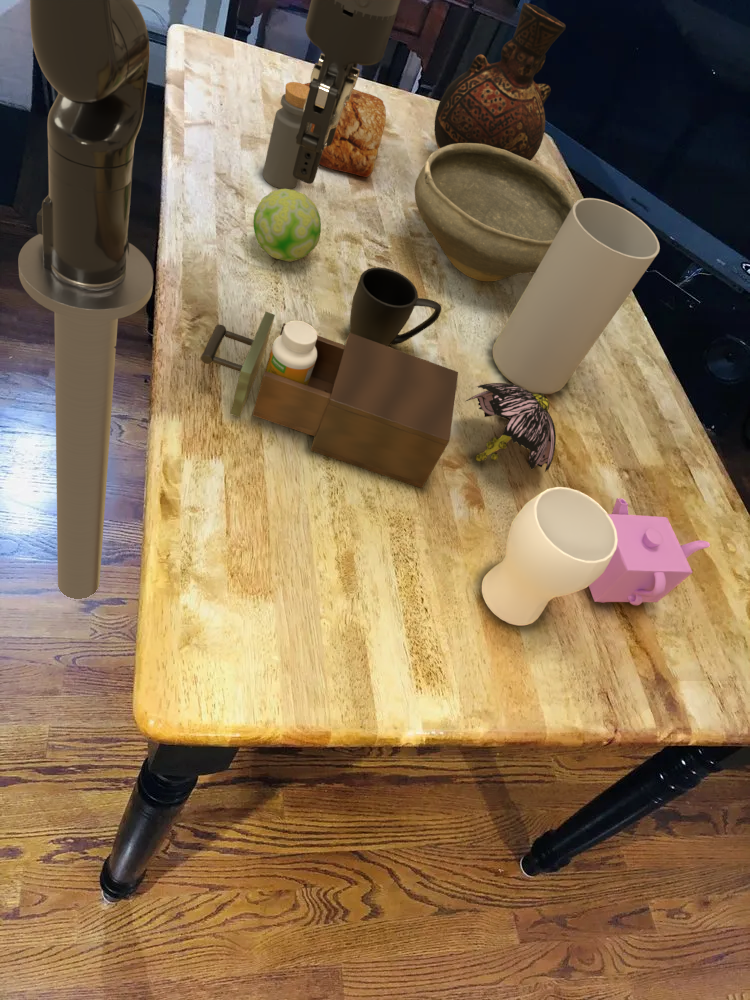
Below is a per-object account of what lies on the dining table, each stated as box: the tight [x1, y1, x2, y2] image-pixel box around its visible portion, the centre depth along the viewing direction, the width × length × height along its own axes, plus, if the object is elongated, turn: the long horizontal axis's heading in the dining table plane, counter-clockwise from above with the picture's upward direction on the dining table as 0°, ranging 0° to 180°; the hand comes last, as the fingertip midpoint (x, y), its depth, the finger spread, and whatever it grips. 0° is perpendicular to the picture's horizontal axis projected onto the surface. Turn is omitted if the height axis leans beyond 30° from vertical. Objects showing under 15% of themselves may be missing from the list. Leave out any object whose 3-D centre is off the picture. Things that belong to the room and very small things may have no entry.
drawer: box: [200, 311, 345, 437], centre depth 92 cm, size 19×11×7 cm, turn 81°
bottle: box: [262, 81, 312, 190], centre depth 121 cm, size 6×6×15 cm
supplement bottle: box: [264, 319, 318, 385], centre depth 91 cm, size 5×5×10 cm
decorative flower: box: [465, 382, 557, 473], centre depth 100 cm, size 14×12×15 cm
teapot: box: [588, 497, 711, 606], centre depth 92 cm, size 18×13×10 cm
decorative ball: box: [253, 188, 322, 262], centre depth 111 cm, size 10×10×10 cm
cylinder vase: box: [492, 197, 661, 395], centre depth 107 cm, size 12×12×25 cm
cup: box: [481, 486, 618, 626], centre depth 83 cm, size 11×11×15 cm
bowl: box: [414, 143, 575, 282], centre depth 125 cm, size 28×28×14 cm
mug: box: [349, 266, 442, 347], centre depth 105 cm, size 8×12×10 cm
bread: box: [281, 82, 387, 178], centre depth 135 cm, size 20×18×10 cm
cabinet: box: [310, 332, 459, 489], centre depth 94 cm, size 15×13×9 cm
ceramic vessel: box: [434, 2, 566, 161], centre depth 138 cm, size 21×18×30 cm
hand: (312, 160), depth 79 cm, fingers open, 8 cm apart
